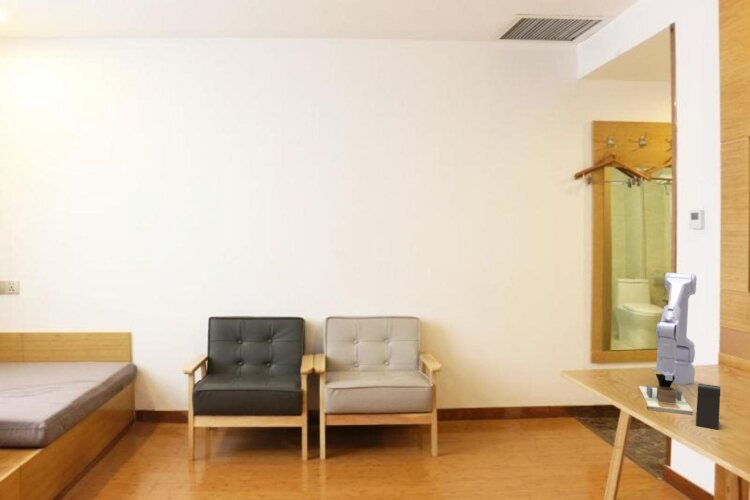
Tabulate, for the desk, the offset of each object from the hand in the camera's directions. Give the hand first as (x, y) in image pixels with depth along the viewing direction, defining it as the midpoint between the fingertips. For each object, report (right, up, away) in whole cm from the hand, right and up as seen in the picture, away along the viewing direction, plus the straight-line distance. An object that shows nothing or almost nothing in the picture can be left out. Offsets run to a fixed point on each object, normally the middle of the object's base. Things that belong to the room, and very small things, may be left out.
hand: (664, 395), depth 199 cm
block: (-1, -1, -3) cm, 3 cm away
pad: (-1, -2, -4) cm, 4 cm away
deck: (0, -2, 0) cm, 2 cm away
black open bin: (+3, -4, -20) cm, 21 cm away
